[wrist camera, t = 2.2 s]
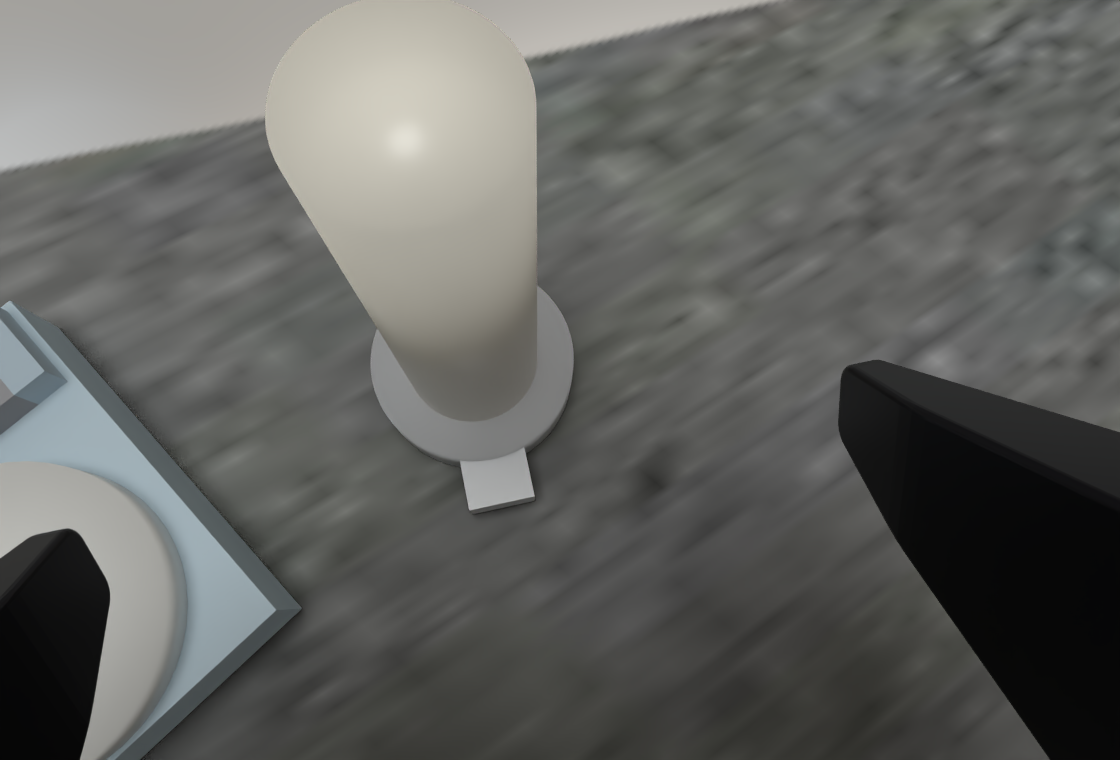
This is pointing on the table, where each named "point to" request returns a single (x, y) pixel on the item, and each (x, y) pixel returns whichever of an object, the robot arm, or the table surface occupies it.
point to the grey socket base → (127, 539)
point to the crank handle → (432, 224)
